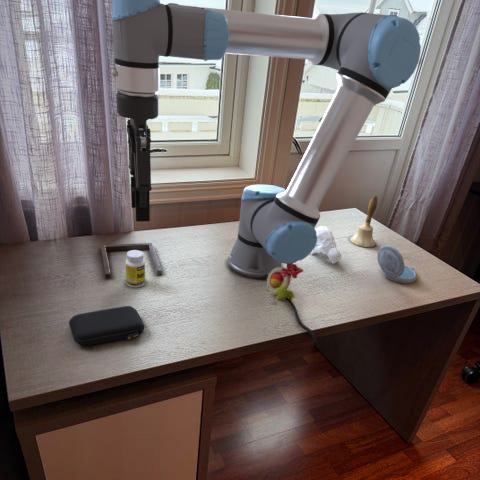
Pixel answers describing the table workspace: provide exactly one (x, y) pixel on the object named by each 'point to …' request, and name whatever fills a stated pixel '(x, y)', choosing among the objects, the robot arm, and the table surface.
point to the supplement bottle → (135, 268)
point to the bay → (129, 247)
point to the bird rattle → (282, 281)
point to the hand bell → (366, 228)
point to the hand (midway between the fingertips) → (140, 213)
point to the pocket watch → (394, 265)
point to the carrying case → (106, 325)
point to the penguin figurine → (326, 244)
